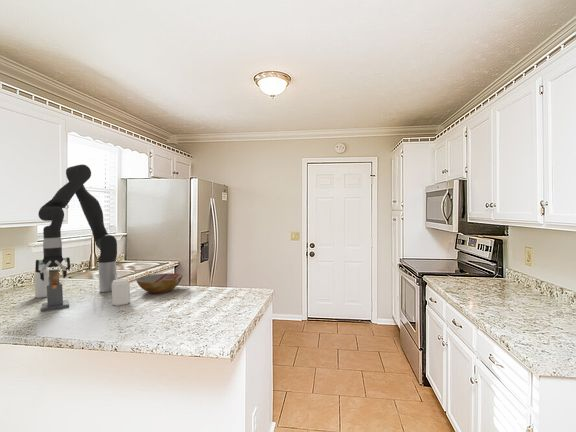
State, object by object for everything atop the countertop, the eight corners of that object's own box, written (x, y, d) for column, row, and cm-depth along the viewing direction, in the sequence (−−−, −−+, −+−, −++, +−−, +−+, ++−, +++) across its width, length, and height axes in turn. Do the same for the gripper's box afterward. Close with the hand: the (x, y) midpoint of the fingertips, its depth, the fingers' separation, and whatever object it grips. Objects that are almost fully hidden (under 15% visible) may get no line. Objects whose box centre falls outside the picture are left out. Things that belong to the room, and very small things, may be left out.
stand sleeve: (68, 302, 173) (67, 280, 172) (69, 307, 164) (68, 284, 163) (42, 306, 166) (41, 283, 166) (41, 311, 157) (40, 287, 157)
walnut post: (60, 301, 168) (58, 268, 167) (60, 303, 164) (58, 269, 164) (50, 303, 166) (48, 269, 165) (50, 305, 162) (48, 270, 162)
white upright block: (108, 305, 166) (107, 281, 165) (123, 300, 173) (122, 278, 173) (119, 306, 162) (118, 282, 162) (133, 302, 169) (132, 279, 169)
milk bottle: (45, 298, 183) (43, 262, 183) (31, 298, 184) (29, 262, 183) (55, 294, 191) (53, 259, 191) (42, 294, 191) (40, 260, 191)
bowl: (167, 297, 177) (167, 282, 176) (126, 296, 182) (125, 282, 182) (190, 286, 201) (190, 273, 201) (153, 285, 206) (153, 273, 206)
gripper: (69, 245, 172) (70, 276, 172) (35, 247, 163) (36, 280, 164) (69, 246, 165) (71, 278, 166) (34, 248, 157) (35, 282, 158)
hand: (53, 279), depth 165 cm, fingers open, 8 cm apart
